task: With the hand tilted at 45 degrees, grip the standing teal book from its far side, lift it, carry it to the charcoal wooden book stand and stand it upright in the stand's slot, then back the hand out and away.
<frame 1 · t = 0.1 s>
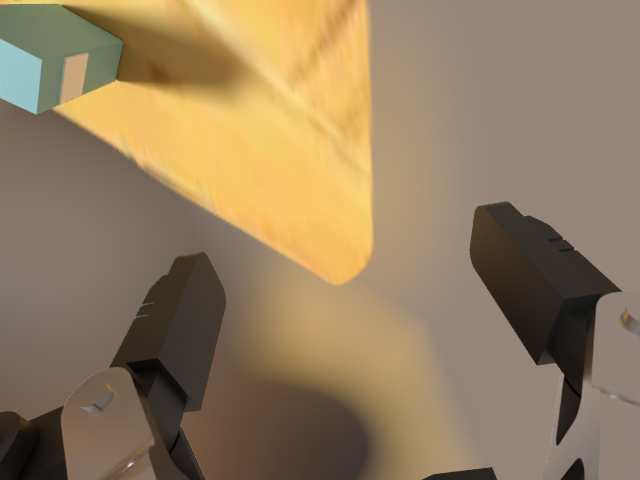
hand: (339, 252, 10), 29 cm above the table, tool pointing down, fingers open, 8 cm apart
teal book: (88, 44, 31), on the table
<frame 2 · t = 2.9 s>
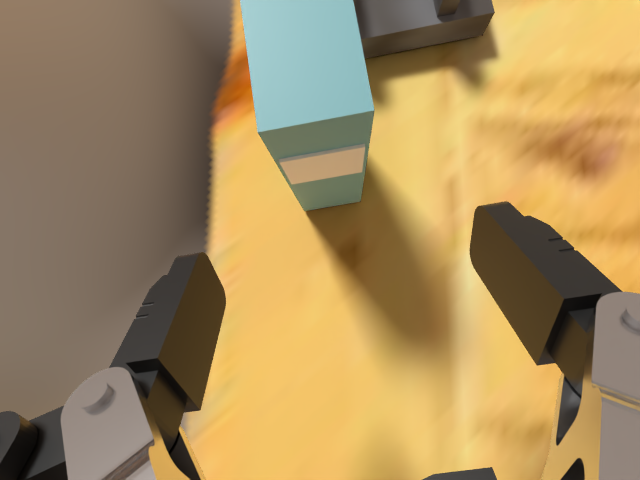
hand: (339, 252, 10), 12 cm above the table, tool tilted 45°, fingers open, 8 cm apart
teal book: (326, 168, 23), on the table
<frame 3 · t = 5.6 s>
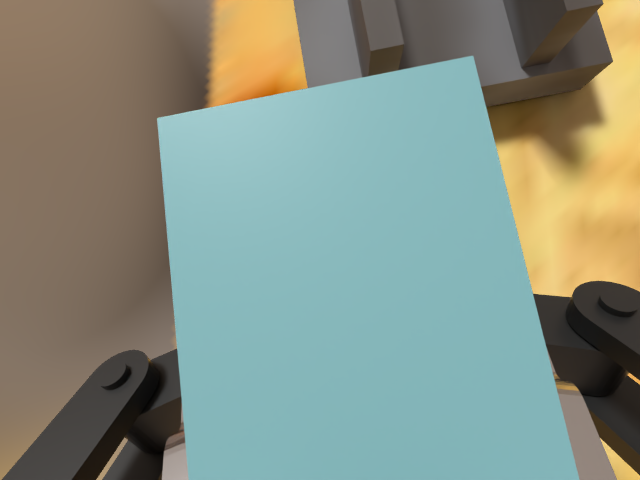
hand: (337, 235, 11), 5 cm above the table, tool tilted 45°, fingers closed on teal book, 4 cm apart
book stand: (419, 1, 17), on the table
teal book: (348, 291, 15), on the table, touching gripper
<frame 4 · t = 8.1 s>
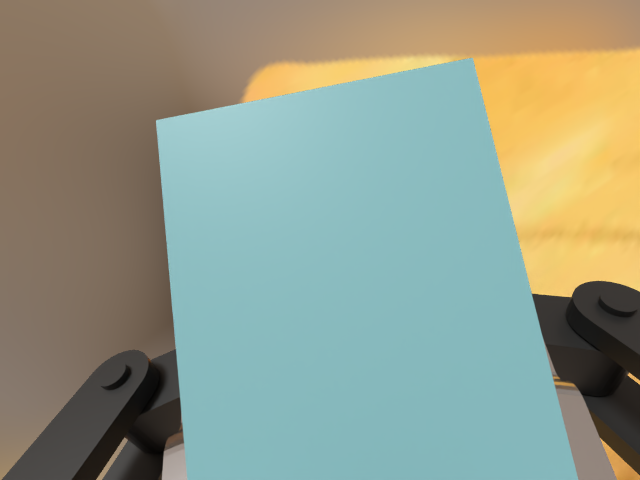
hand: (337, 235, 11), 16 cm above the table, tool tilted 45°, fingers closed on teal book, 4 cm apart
teal book: (347, 292, 15), point 11 cm above the table, touching gripper
when the fingers open (9 cm above the table, at t = 11.0 s): teal book drops 1 cm, resting on book stand.
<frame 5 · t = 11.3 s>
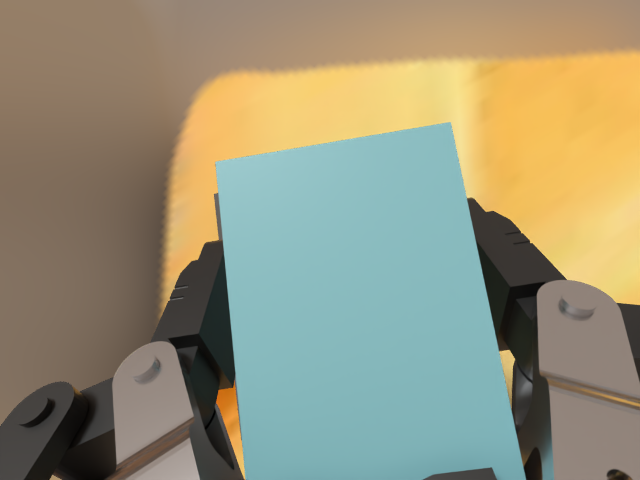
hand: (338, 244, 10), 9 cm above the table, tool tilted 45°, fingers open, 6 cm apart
teal book: (350, 292, 17), point 2 cm above the table, touching book stand
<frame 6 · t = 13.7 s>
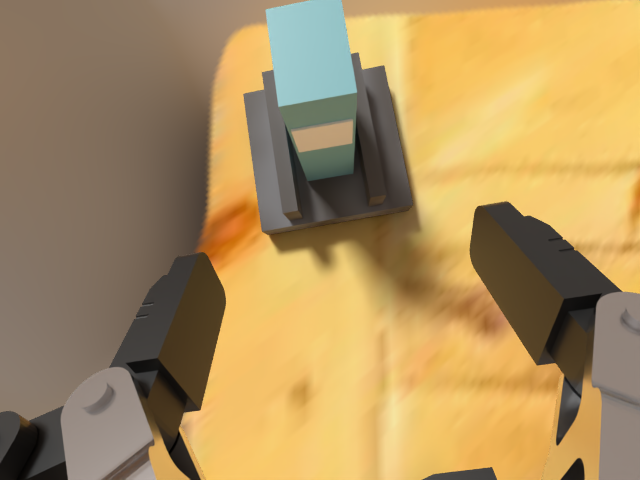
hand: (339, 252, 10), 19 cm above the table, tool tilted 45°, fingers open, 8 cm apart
book stand: (325, 155, 30), on the table
teal book: (325, 147, 29), point 2 cm above the table, touching book stand
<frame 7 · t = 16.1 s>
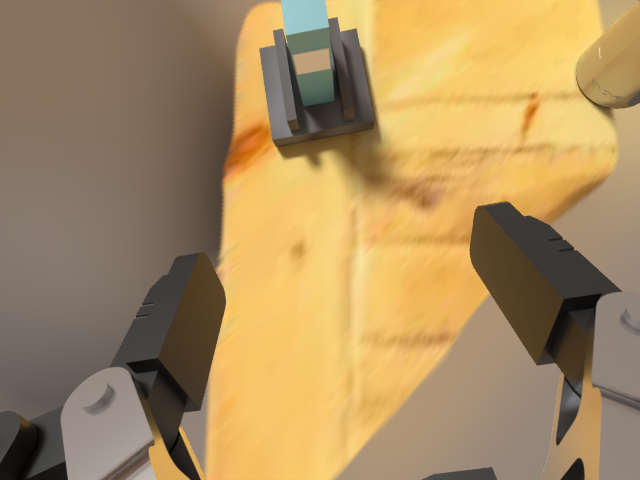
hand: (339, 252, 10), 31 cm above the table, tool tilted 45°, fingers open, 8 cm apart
book stand: (316, 92, 44), on the table
teal book: (316, 83, 42), point 2 cm above the table, touching book stand
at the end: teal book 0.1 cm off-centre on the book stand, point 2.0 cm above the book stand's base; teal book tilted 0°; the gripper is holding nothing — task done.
